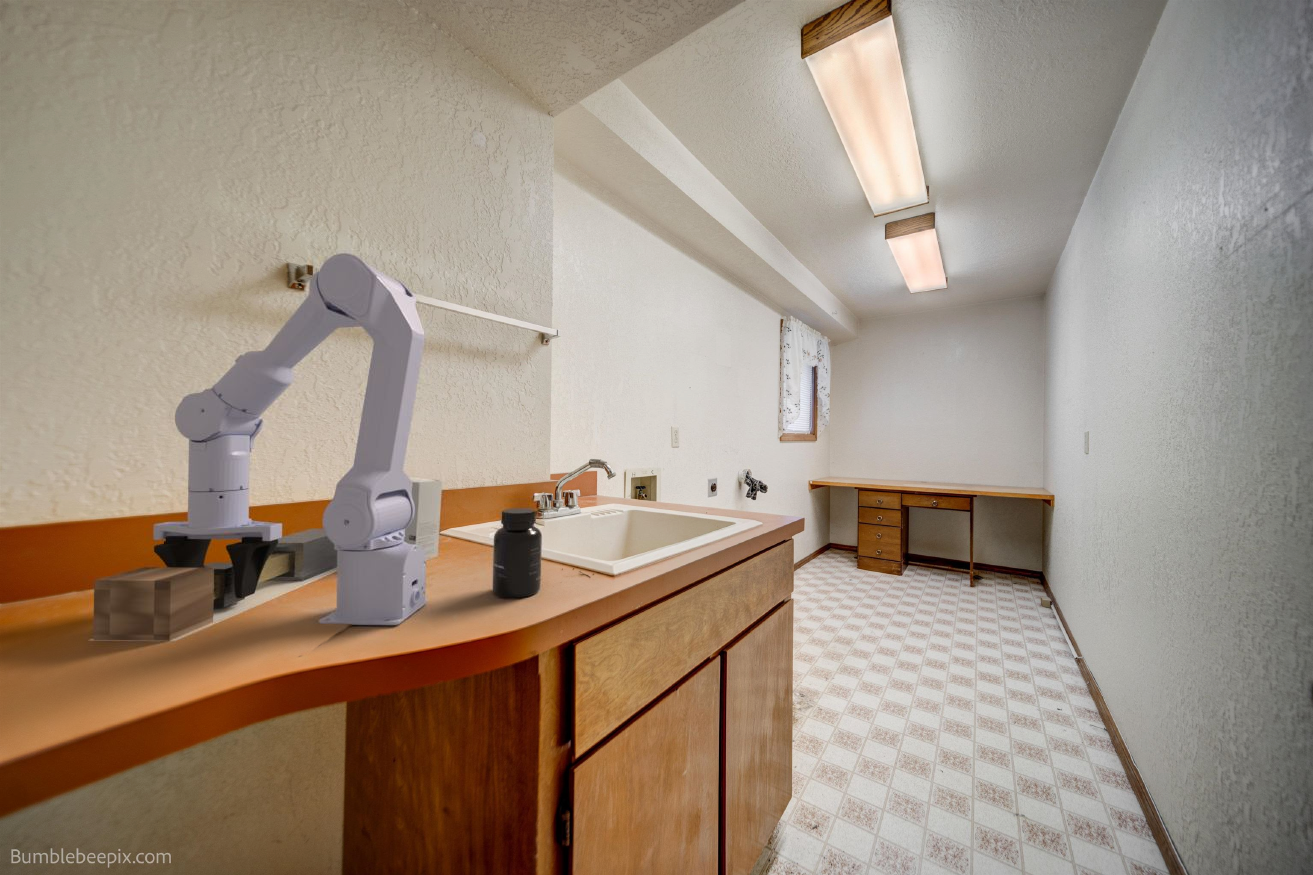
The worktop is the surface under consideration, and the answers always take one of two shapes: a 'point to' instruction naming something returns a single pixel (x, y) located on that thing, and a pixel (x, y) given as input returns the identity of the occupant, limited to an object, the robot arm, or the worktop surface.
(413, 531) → the skincare box
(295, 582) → the board
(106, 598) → the socket
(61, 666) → the worktop surface
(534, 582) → the supplement bottle
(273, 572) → the plug
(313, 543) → the sleeve
